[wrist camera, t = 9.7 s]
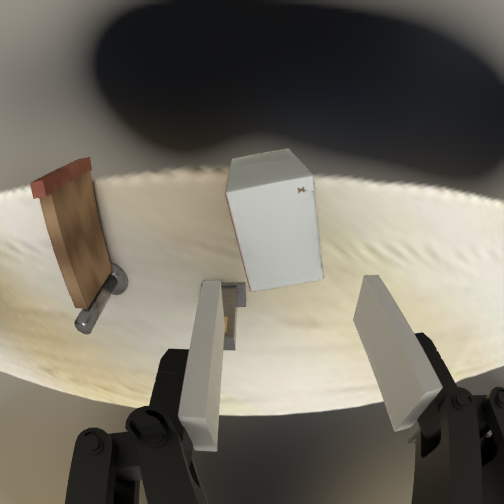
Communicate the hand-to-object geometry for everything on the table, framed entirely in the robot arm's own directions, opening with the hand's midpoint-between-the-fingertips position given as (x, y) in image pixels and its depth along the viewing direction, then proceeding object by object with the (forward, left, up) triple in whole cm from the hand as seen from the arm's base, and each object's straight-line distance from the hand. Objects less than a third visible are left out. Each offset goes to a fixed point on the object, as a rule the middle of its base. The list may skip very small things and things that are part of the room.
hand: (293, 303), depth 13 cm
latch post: (-5, -12, -17) cm, 21 cm away
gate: (-19, -2, -17) cm, 25 cm away
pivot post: (-19, -10, -17) cm, 27 cm away
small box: (0, 0, -17) cm, 17 cm away
